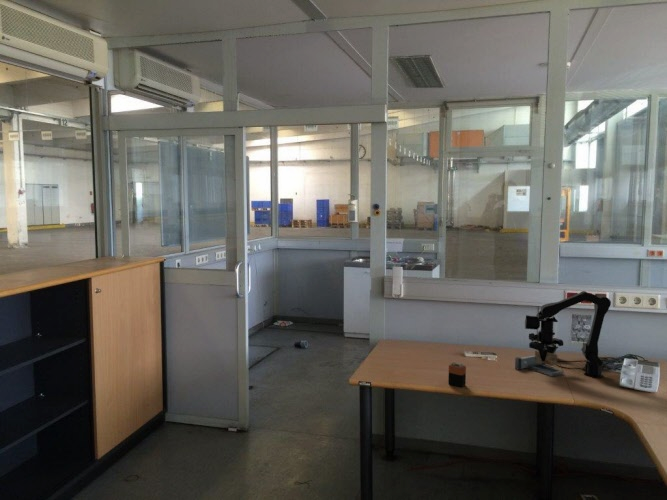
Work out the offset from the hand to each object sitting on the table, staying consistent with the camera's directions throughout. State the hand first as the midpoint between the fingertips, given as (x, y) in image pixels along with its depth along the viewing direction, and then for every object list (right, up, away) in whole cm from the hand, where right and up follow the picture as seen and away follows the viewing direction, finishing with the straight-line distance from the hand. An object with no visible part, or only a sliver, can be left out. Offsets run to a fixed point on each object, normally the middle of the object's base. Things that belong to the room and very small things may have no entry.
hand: (545, 360), depth 253 cm
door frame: (-4, -5, +8) cm, 10 cm away
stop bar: (0, -1, 0) cm, 1 cm away
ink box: (+11, -4, +26) cm, 28 cm away
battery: (-49, -7, -20) cm, 54 cm away
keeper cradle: (0, -6, 0) cm, 6 cm away
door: (-4, -5, +8) cm, 10 cm away
